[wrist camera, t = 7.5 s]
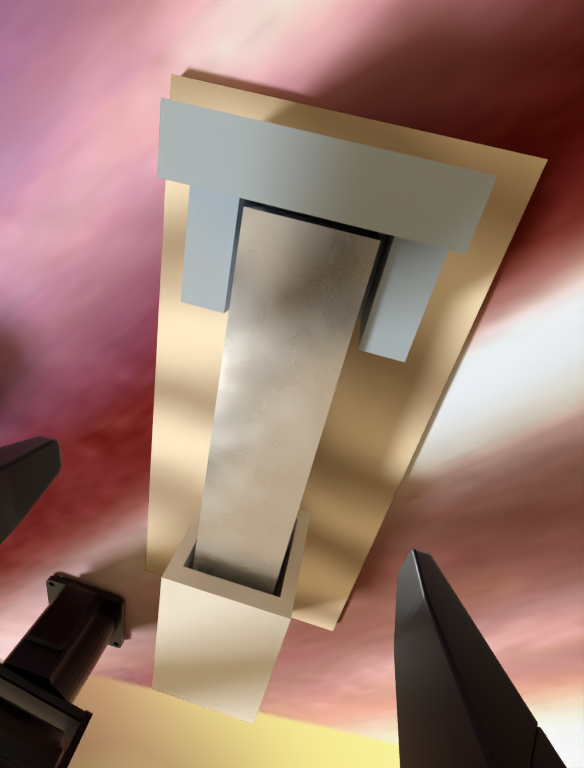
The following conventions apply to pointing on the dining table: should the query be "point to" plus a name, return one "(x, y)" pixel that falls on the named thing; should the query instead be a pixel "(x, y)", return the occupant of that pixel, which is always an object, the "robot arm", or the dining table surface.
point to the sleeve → (222, 630)
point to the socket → (318, 208)
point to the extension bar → (276, 383)
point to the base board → (359, 371)
